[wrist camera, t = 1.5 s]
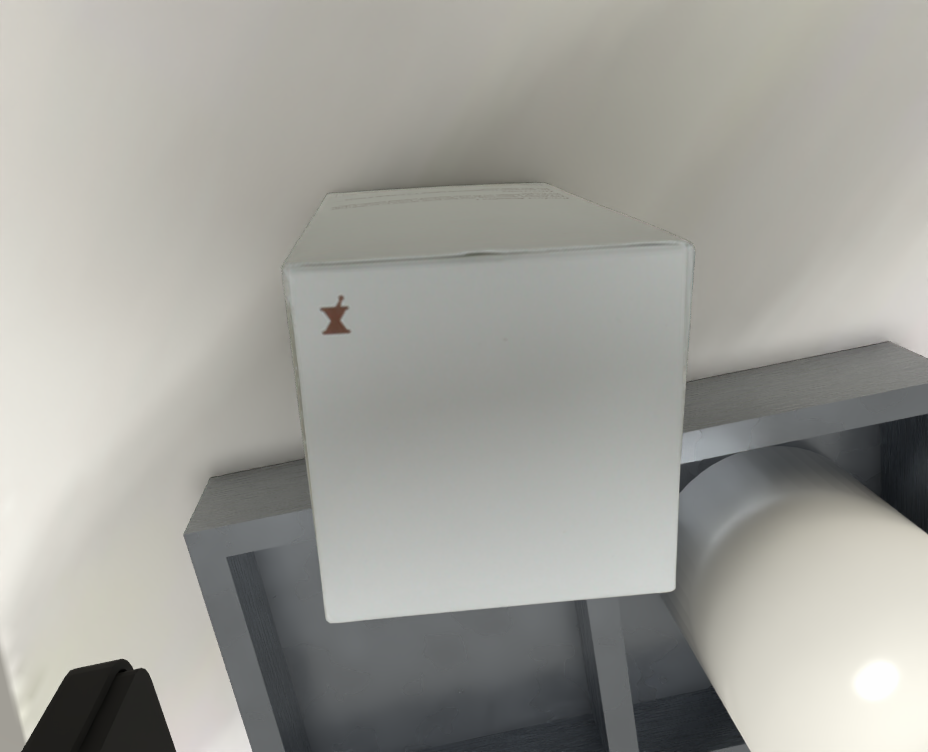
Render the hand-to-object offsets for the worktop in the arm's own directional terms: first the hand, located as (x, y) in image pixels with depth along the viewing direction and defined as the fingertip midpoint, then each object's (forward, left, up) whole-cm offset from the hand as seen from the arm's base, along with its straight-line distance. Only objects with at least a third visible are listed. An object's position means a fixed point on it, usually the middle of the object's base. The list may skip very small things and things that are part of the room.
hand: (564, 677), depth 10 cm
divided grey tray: (+11, +3, -19) cm, 22 cm away
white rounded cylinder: (+11, +10, -18) cm, 23 cm away
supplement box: (0, 0, -19) cm, 19 cm away
